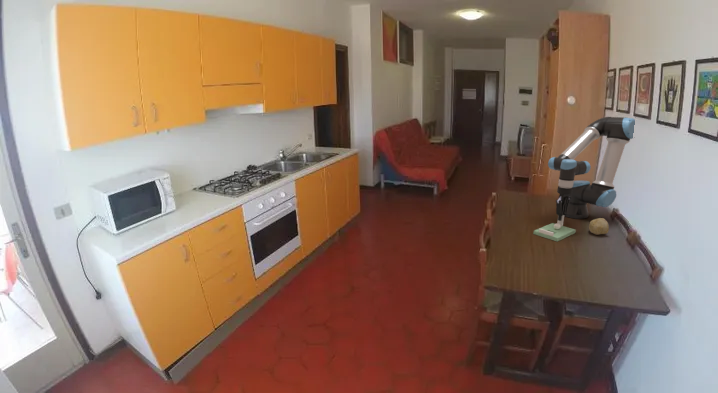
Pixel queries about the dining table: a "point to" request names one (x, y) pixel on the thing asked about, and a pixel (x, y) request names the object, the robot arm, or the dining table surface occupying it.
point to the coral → (599, 226)
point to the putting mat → (554, 232)
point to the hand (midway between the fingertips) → (559, 225)
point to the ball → (557, 226)
